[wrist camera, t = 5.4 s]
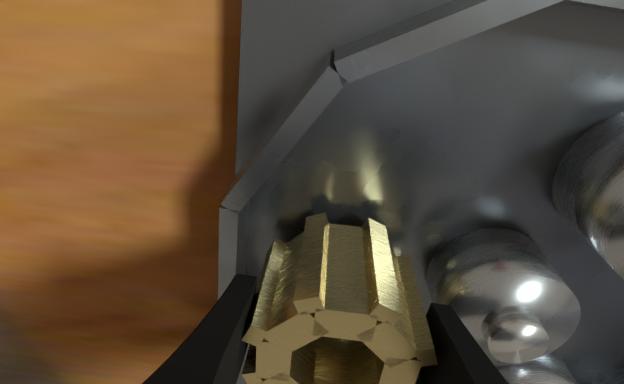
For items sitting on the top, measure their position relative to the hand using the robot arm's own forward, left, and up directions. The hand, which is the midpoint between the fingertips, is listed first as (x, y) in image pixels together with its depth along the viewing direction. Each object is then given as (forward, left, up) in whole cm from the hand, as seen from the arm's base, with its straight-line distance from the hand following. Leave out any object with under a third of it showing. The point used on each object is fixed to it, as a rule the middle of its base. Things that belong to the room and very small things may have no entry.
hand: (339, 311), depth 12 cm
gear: (0, 0, -2) cm, 2 cm away
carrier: (-6, 0, -4) cm, 7 cm away
